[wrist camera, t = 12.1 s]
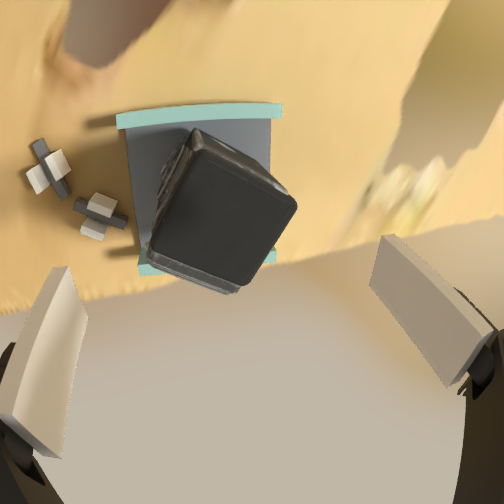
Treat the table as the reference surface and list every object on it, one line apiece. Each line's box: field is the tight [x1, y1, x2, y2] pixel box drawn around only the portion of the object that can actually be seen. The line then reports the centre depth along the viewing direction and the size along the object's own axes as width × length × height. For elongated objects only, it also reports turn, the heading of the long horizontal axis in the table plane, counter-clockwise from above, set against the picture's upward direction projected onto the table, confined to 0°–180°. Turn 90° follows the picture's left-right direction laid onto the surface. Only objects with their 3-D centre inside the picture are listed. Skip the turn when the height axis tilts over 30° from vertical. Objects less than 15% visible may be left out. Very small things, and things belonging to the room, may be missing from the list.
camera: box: [144, 128, 297, 295], centre depth 26 cm, size 10×10×15 cm
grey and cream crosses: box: [32, 138, 128, 230], centre depth 30 cm, size 16×4×1 cm, turn 39°
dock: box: [116, 102, 282, 276], centre depth 32 cm, size 18×16×5 cm
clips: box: [26, 149, 118, 242], centre depth 29 cm, size 13×5×3 cm, turn 40°
